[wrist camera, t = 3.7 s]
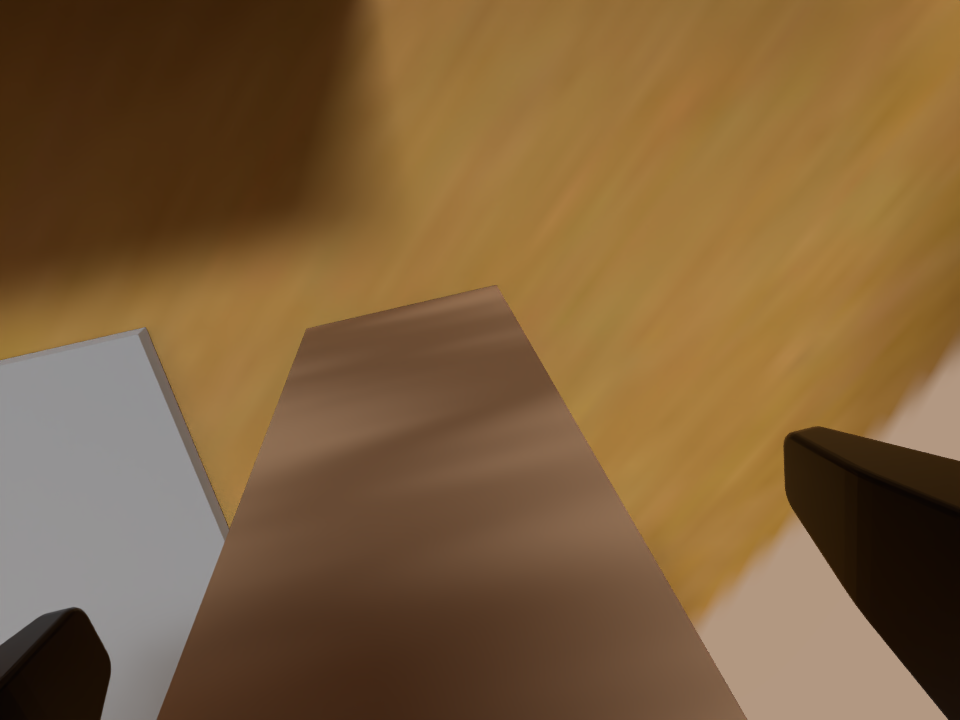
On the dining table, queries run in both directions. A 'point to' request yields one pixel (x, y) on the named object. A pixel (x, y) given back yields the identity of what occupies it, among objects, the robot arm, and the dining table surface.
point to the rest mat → (105, 508)
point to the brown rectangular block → (436, 547)
